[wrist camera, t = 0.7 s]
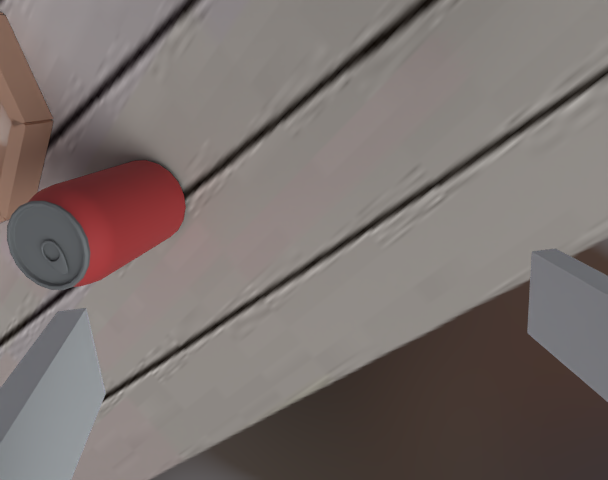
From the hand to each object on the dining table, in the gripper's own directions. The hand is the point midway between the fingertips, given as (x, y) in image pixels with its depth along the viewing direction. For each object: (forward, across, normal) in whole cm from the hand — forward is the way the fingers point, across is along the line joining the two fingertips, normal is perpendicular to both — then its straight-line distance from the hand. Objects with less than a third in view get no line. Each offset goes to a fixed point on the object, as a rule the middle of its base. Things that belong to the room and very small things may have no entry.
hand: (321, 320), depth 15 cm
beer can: (+29, -9, -2) cm, 30 cm away
